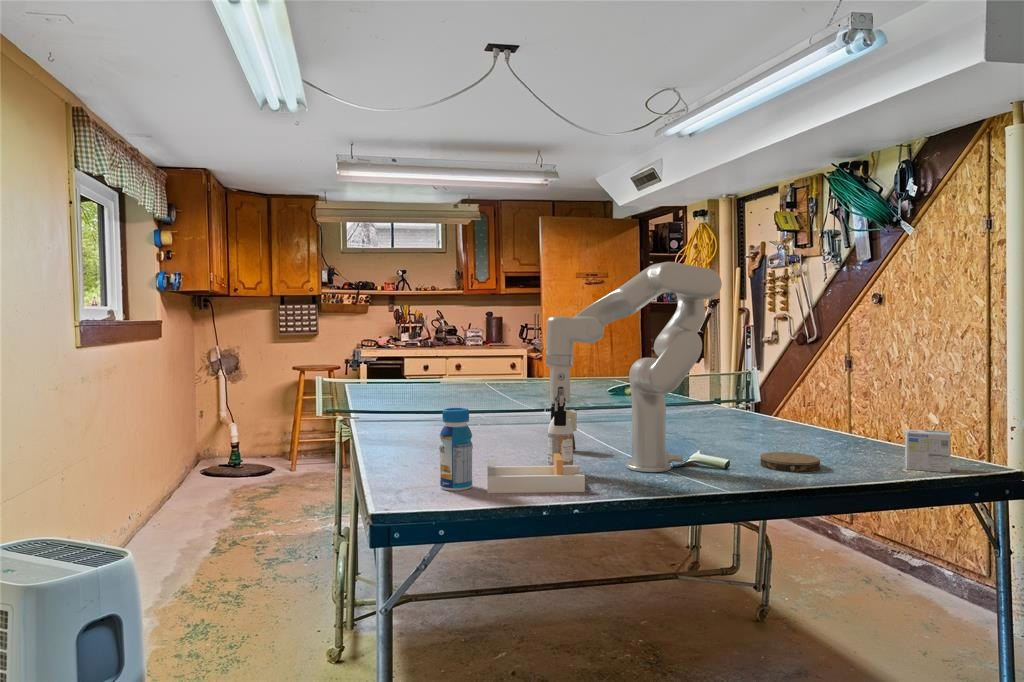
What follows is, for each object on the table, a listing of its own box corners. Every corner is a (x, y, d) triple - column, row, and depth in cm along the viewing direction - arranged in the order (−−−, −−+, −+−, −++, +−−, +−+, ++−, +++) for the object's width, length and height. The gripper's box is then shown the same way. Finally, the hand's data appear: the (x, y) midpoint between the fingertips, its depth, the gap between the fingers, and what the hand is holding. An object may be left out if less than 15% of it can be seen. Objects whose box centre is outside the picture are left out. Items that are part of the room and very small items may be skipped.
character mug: (550, 448, 220) (550, 409, 219) (571, 447, 221) (571, 409, 221) (559, 455, 209) (559, 414, 209) (581, 454, 211) (581, 413, 210)
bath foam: (558, 477, 178) (557, 403, 178) (542, 473, 184) (542, 401, 184) (578, 474, 182) (577, 402, 182) (562, 469, 188) (562, 399, 187)
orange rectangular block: (559, 476, 173) (559, 453, 173) (563, 484, 165) (563, 460, 165) (553, 476, 173) (553, 453, 173) (556, 484, 165) (556, 460, 165)
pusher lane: (578, 480, 175) (578, 457, 175) (584, 491, 163) (584, 467, 163) (487, 481, 175) (487, 458, 174) (487, 493, 163) (487, 468, 162)
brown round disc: (756, 460, 200) (756, 451, 200) (812, 463, 197) (812, 453, 197) (765, 472, 185) (765, 461, 185) (826, 474, 182) (826, 464, 181)
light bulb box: (947, 468, 188) (947, 430, 187) (951, 473, 182) (951, 434, 181) (903, 465, 192) (904, 428, 192) (906, 469, 186) (906, 431, 186)
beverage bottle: (468, 492, 163) (468, 411, 163) (435, 490, 165) (434, 411, 164) (476, 484, 172) (475, 407, 171) (444, 482, 173) (444, 406, 173)
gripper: (577, 363, 174) (575, 428, 174) (569, 360, 191) (568, 419, 191) (548, 362, 173) (547, 427, 174) (543, 359, 191) (542, 418, 191)
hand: (558, 423), depth 183 cm, fingers open, 9 cm apart
